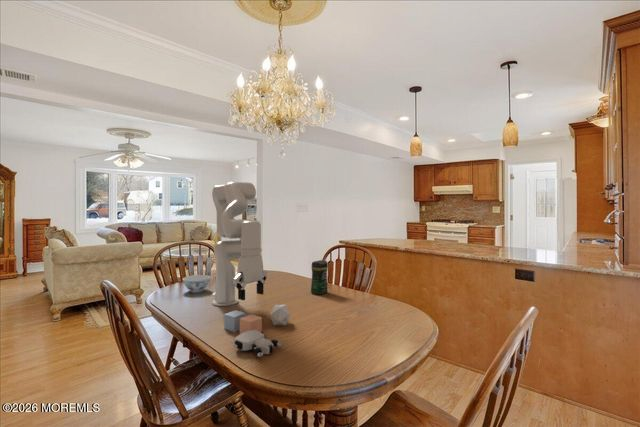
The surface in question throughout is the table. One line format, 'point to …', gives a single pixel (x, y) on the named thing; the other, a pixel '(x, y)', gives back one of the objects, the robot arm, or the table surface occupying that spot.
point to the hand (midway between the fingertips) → (251, 296)
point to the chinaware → (196, 282)
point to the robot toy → (255, 342)
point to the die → (280, 314)
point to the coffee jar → (319, 277)
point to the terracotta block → (250, 323)
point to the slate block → (233, 320)
